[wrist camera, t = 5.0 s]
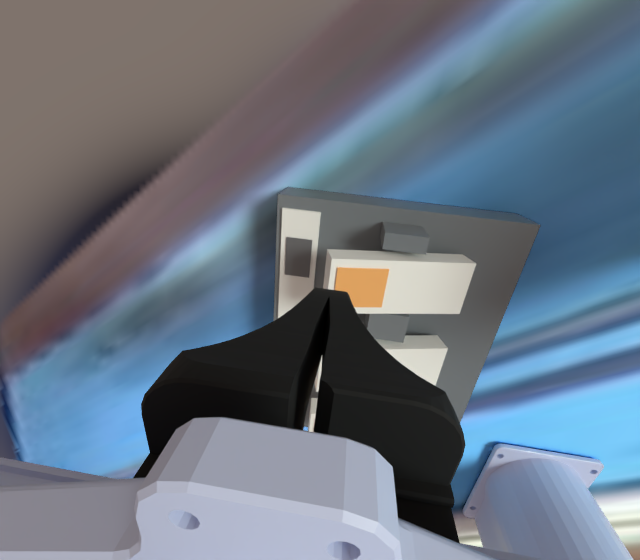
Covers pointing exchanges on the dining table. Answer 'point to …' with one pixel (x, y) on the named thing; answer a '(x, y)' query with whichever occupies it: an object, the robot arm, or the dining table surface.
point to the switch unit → (414, 237)
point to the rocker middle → (413, 356)
